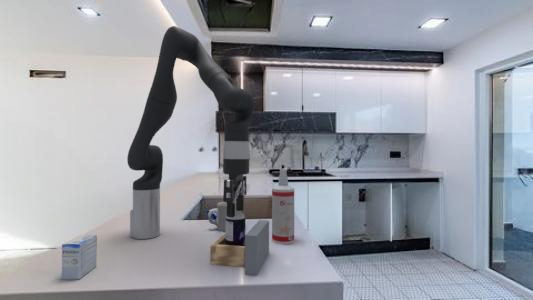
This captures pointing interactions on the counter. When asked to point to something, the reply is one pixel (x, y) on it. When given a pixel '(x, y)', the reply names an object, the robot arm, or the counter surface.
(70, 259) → the medicine box
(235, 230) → the beverage can
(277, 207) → the spray bottle
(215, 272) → the counter surface
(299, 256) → the counter surface
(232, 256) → the wooden box
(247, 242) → the wall
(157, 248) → the counter surface
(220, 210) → the coffee mug
